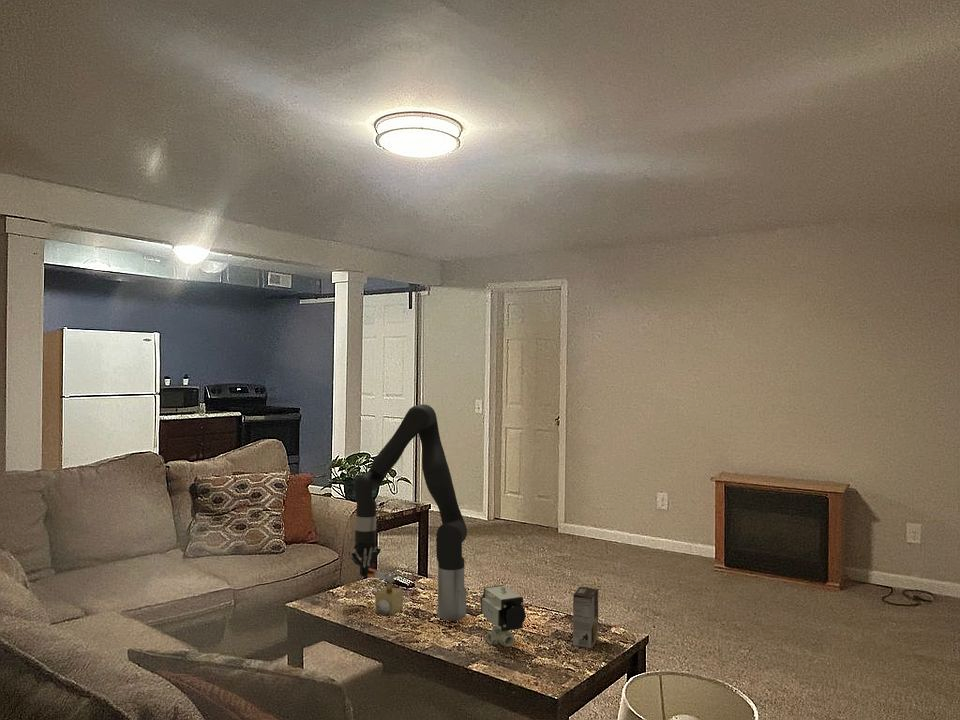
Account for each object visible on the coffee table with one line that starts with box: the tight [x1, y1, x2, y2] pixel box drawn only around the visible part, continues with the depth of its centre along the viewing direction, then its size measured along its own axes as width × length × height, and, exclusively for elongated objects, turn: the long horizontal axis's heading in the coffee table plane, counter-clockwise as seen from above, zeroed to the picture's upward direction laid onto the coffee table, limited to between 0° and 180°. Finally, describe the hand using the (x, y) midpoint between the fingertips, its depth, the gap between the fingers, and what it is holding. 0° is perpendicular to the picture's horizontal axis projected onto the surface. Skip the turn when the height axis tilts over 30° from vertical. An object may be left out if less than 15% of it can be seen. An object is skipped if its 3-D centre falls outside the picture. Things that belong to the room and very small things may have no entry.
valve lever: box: [366, 567, 395, 583], centre depth 256 cm, size 15×3×2 cm, turn 53°
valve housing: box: [374, 582, 404, 616], centre depth 253 cm, size 7×9×10 cm
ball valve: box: [480, 584, 526, 648], centre depth 225 cm, size 18×8×18 cm, turn 25°
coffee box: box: [572, 586, 599, 649], centre depth 227 cm, size 9×6×16 cm
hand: (364, 576), depth 256 cm, fingers closed
